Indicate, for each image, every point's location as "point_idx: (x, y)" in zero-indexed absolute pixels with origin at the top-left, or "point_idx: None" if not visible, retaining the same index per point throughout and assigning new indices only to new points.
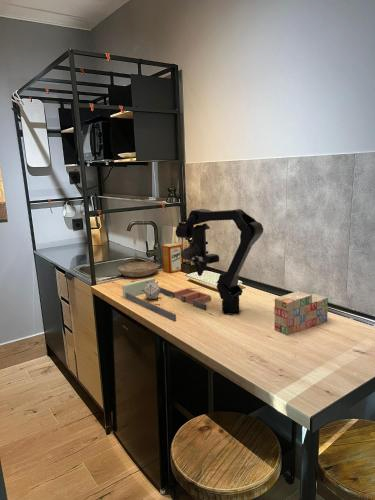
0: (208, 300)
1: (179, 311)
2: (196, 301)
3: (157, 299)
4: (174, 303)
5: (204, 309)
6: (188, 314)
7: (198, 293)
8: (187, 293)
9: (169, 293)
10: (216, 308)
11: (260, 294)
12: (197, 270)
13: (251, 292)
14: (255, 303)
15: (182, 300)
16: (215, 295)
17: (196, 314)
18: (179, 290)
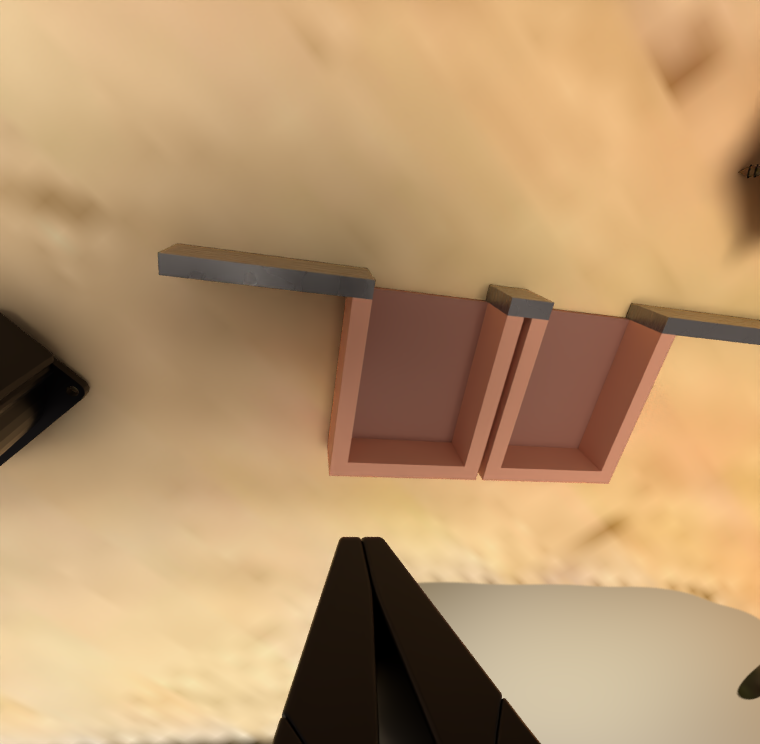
0: (330, 430)
1: (369, 42)
2: (316, 276)
3: (746, 171)
4: (551, 205)
5: (188, 246)
6: (222, 27)
7: (463, 455)
8: (578, 440)
9: (701, 317)
10: (148, 352)
11: (151, 707)
12: (412, 638)
13: (224, 695)
14: (22, 603)
15: (517, 290)
16: None
17: (155, 90)
18: (645, 398)
